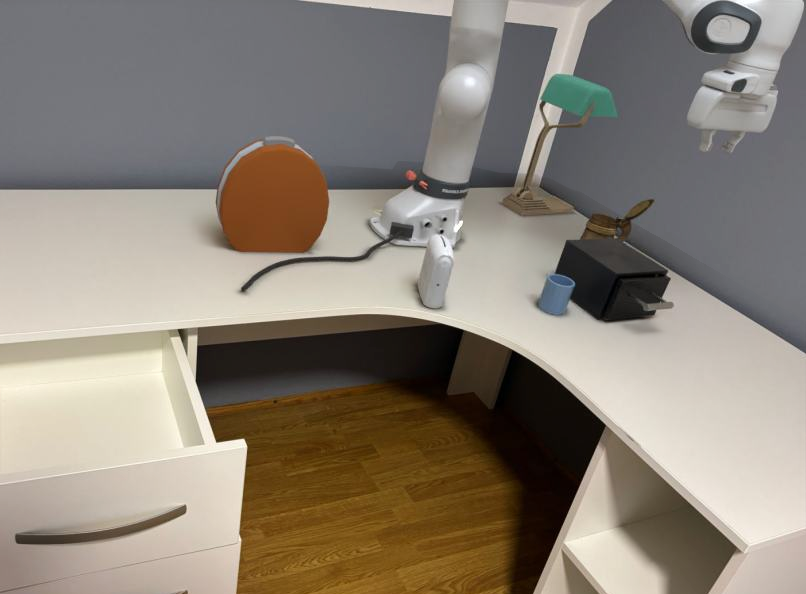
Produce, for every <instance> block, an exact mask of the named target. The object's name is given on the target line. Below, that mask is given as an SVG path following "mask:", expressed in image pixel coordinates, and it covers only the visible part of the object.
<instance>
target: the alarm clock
mask: <svg viewBox="0 0 806 594" xmlns="http://www.w3.org/2000/svg"><path fill="white" fill-rule="evenodd" d="M219 178H220V179H219V181H218V184H217V188H216V195H215V207H216V213H217V217H218V221H219V223H220V225H221V228H222V231H223V234H224V235H225V237H226V239H227V241H228V243H229V245H230V246H232V247H233V248H234V249H235V250H236V251H237V252H241V253H242V252H243V253H245V252H249V253H294V254H295V253H296V254H297V253H301V254H302V253H305V252H307V251H308V250H309V249H311V248H312V247H313V246H314V244H315V243H316V242H317V241H318V239H320V237H321V235H322V232H323V230H324V228H325V225H326V224H327V221H328V215H329V206H330V197H329V189H328V182H327V180H326V177H325V176H324V174H323V172H322V170H321V168H320V166H319V164H318V163H317V162H316V161H315V160H314V158H313V156H312V155H311V154H310V153H309V152H307V151H306V150H305V149H304V148H302V147H301V146H300V145H299V144H298V143H297V142H296V141H295V140H294V139H293V138H290V137H287V136H280V135H270V136H265V137H264V138H262V139H255V140H254V141H252V142H250V143H249V144H246V145H244V146H243V147H241V148H239V149H238V150H237V151H236V152H235V154H234V155H232V157H231V158H230V160H229V161H228V162H227V163H226V165H225V166H224V168H223V171H222V173H221V177H219Z"/></svg>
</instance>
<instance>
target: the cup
mask: <svg viewBox="0 0 806 594" xmlns="http://www.w3.org/2000/svg"><path fill="white" fill-rule="evenodd" d="M574 286H575V282H574V281H573V280H572V279H570V278H568V277H566V276H563V275H559V274H555V273H549V274H548V275H547V277H546V280H545V282H544V285H543V288H542V291H541V293H540V297H539V299H538V302H537V307H538V308H539V309H540V310H541V311H543V312H545V313H547V314H550V315H553V316H562V315H564V314H565V312H566V310H567V307H568V305H569V302H570V300H571V299H570V297H571V294H572V292H573V289H574Z"/></svg>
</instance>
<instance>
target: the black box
mask: <svg viewBox="0 0 806 594" xmlns="http://www.w3.org/2000/svg"><path fill="white" fill-rule="evenodd" d="M617 238H618V237H614V238H612V239H582V240H580V239H566V240H565V243H564V246H563V248H562V251H561V254H560V256H559V260H558V263H557V265H556V268H555V270H554V274H559V275H563V276H566V277H568V278H570V279H572V280H573V281H574V282H575V286H574V289H573V292H572V294H571V297H570V300H571V301H573V302H574V303H575V304H577V305H578V306H579V307H581V308H582V309H583V310H584V311H586V312H587V313H589V314H590V315H591V316H592V317H594V318H595V319H596V320H606V319H605V318H604V314H605V312H604V310H605V307H606V305H607V303H608V300H609V298H610V295H611V293H612V290H613V288H614V285H615V283H616V281H617V278H618V277H625V276H641V275H656V274H659V275H658V276H668V273H669V269H667V268H666V267H664V266H663V265H661V264H659V263H657V262H656V261H654V260H652V259H651V258H650V257H648V256H646V255H644V254H643V253H641V252H639V251H638V250H636V249H635V248H634V247H632V246H630V245H628V244H627V243H625V242H624V241H623V242H622V241H620V240H618V239H617Z"/></svg>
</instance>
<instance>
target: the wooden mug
mask: <svg viewBox="0 0 806 594" xmlns="http://www.w3.org/2000/svg"><path fill="white" fill-rule="evenodd" d="M654 203H655V198H649V199H645V200H642V201H640V202H639V203H637V204H636V205H634V206H633V207H632V208H631V209H630V210H629V211H628V212H627V213H626V215H625V216H624V217H620V216H619V217H616V218H614V217H612V216H611V215H609V214H605V213H599V212H594V213H592V214H591V216H590V218H589V219H588V220H587V221H586V223H585V229H584V230H583V232H582V234H581V236H580V238H579V240H582V239H612V238H615V235H616V234H618V233H619V230H618V229H620V230H621V234H620V235H619V237H616V238H617V239H618V240H620V241H622V242H623V243H624V242H625V241H626V240H627V239H628V237H629V236H630V234H631V232H632V221H633V220H635V219H637V218H639V217H640V216H642V215H643V214H644V213H646V212H647V211H648V210H649V209H650V208H651V207H652V206H653V205H654Z"/></svg>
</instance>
